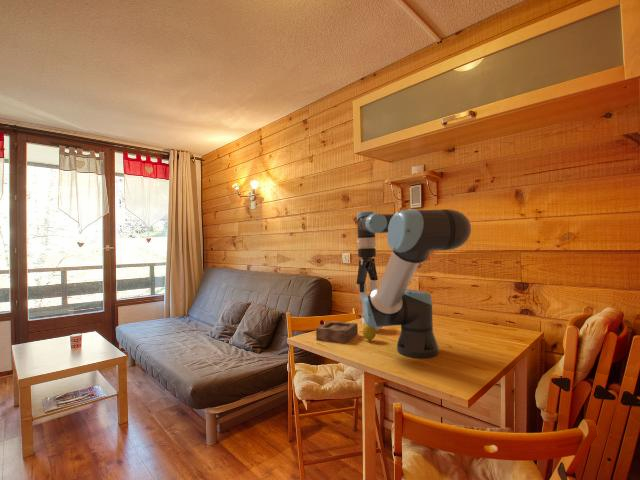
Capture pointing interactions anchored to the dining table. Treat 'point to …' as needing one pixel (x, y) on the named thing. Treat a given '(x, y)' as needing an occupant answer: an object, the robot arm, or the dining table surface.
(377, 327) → the lidded jar
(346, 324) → the walnut base
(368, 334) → the lemon
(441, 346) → the dining table surface
